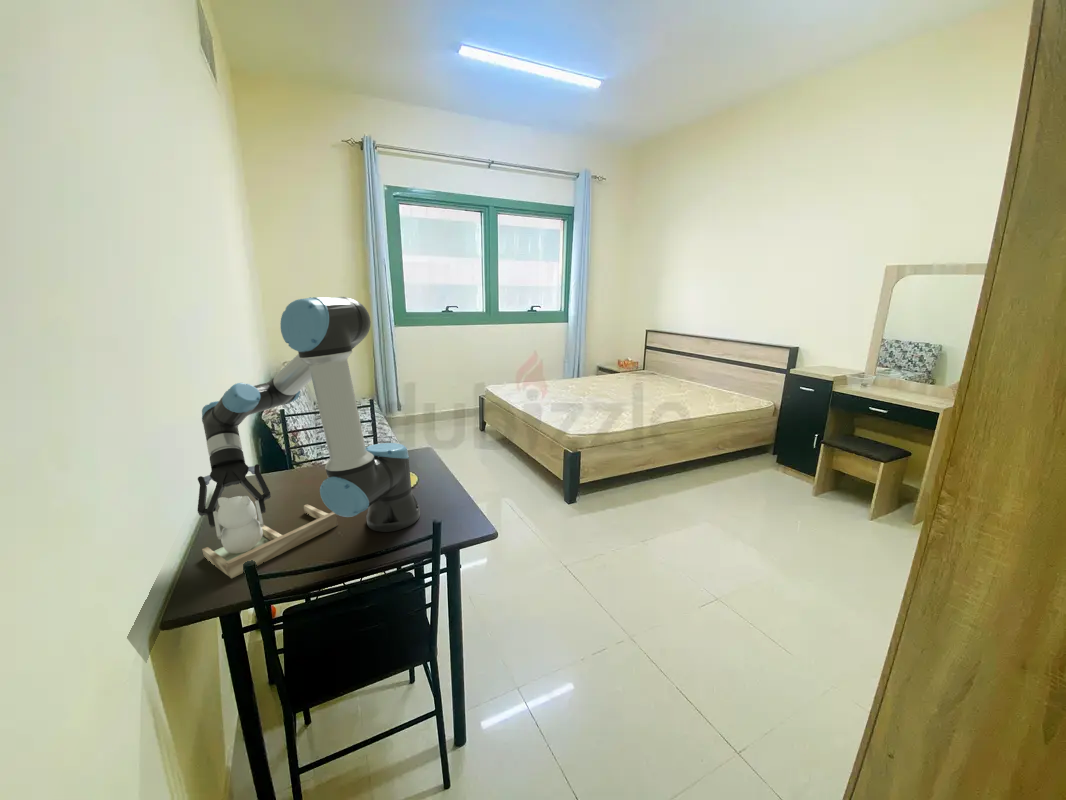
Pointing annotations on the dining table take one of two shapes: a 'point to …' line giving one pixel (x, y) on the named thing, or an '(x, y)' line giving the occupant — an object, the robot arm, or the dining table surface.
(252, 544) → the cat figurine
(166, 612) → the dining table surface
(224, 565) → the organizer
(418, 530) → the dining table surface
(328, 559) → the dining table surface
